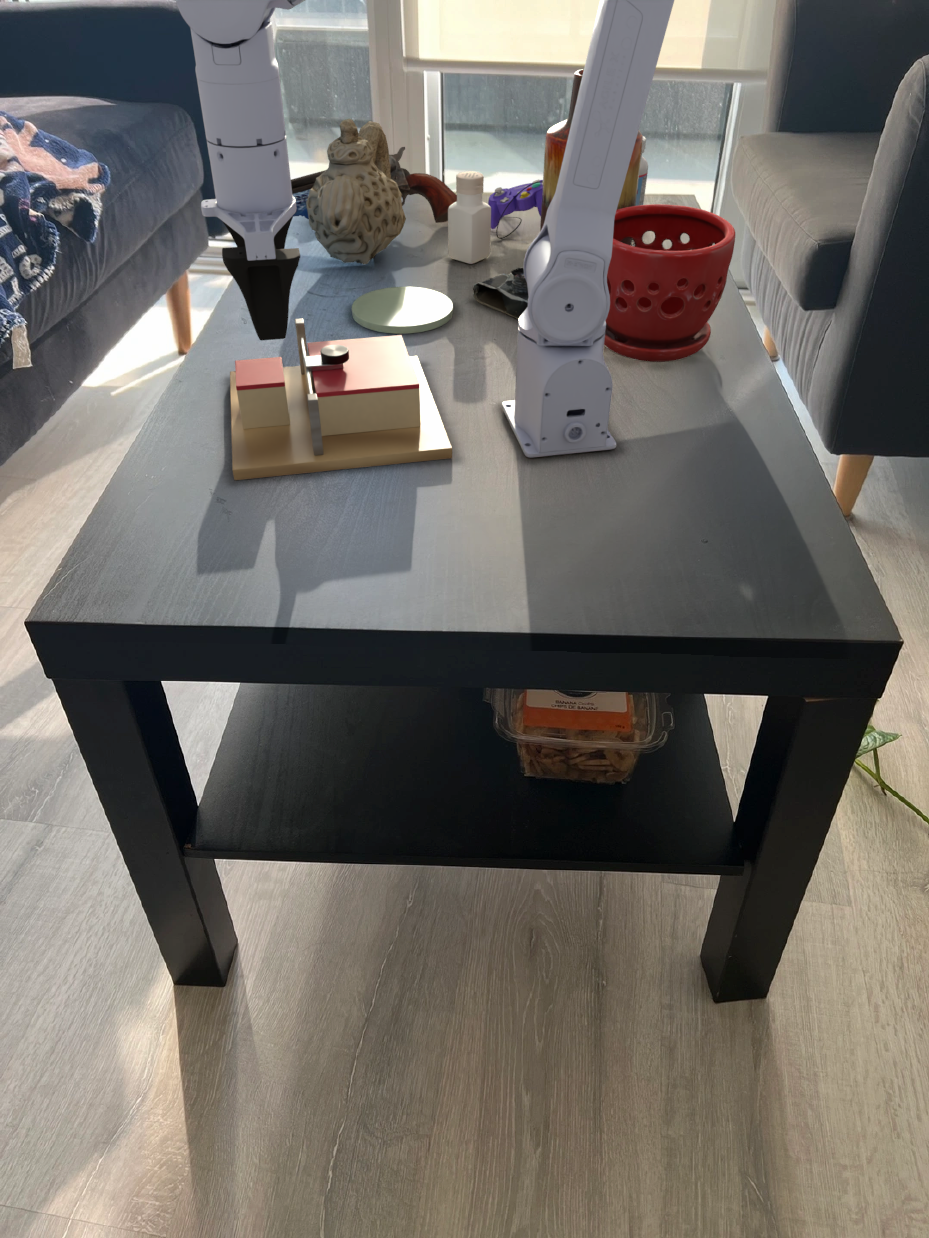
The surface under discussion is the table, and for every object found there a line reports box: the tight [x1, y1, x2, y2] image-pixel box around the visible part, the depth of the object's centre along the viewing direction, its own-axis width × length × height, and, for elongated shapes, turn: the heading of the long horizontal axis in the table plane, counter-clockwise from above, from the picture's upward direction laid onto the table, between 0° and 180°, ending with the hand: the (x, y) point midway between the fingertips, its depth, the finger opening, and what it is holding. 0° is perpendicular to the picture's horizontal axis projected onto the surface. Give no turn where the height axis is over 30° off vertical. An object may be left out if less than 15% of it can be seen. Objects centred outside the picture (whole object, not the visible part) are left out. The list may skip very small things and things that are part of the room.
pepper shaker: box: [447, 171, 492, 265], centre depth 111 cm, size 4×4×10 cm
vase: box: [539, 68, 644, 246], centre depth 106 cm, size 11×11×20 cm
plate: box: [351, 286, 454, 335], centre depth 101 cm, size 11×11×1 cm
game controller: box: [487, 179, 543, 240], centre depth 120 cm, size 10×8×10 cm
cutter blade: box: [301, 338, 349, 394], centre depth 81 cm, size 11×4×5 cm, turn 12°
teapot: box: [306, 118, 407, 266], centre depth 109 cm, size 21×12×15 cm, turn 170°
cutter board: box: [229, 318, 453, 481], centre depth 81 cm, size 18×18×6 cm
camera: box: [472, 267, 529, 320], centre depth 101 cm, size 5×10×4 cm, turn 41°
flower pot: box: [604, 203, 736, 363], centre depth 91 cm, size 13×13×12 cm
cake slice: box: [234, 356, 290, 429], centre depth 80 cm, size 5×4×4 cm
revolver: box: [291, 146, 457, 224], centre depth 123 cm, size 26×4×12 cm
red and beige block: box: [306, 334, 421, 436], centre depth 82 cm, size 10×9×4 cm
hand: (270, 318), depth 76 cm, fingers open, 7 cm apart
